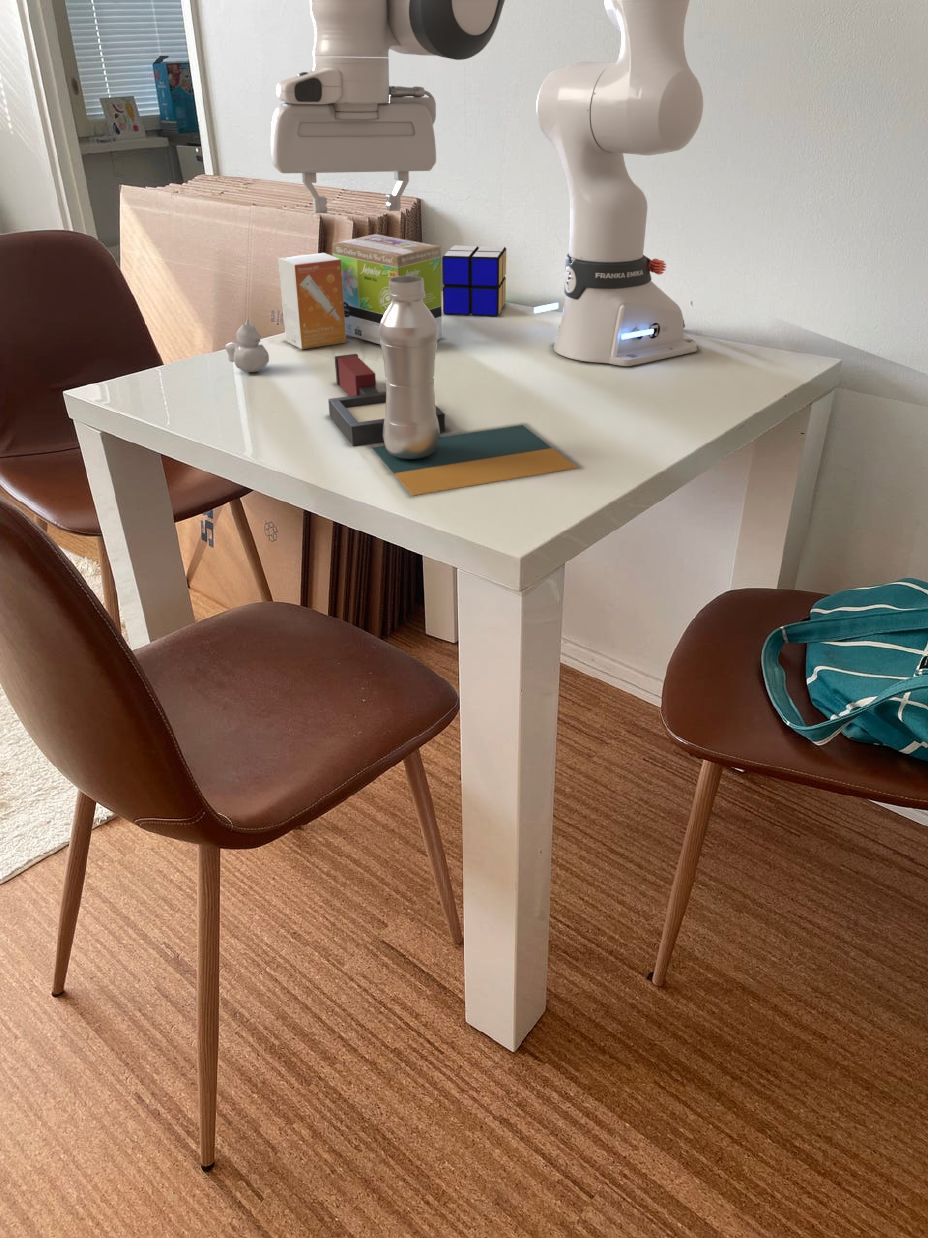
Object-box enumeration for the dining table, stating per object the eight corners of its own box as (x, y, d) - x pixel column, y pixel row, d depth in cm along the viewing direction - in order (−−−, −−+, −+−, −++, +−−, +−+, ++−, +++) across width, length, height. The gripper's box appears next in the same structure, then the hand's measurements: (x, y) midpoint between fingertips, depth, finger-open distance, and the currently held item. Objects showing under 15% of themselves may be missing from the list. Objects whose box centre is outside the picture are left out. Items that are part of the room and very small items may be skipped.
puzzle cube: (442, 314, 166) (441, 255, 161) (452, 301, 174) (451, 244, 169) (498, 316, 164) (499, 257, 159) (505, 303, 173) (506, 246, 167)
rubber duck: (261, 377, 136) (254, 321, 132) (220, 374, 137) (212, 318, 133) (277, 366, 140) (271, 312, 136) (237, 363, 142) (230, 309, 137)
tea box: (336, 335, 155) (329, 241, 147) (380, 323, 161) (375, 232, 153) (401, 352, 146) (397, 253, 138) (444, 338, 153) (443, 243, 145)
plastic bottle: (383, 445, 113) (374, 273, 102) (439, 443, 113) (435, 271, 103) (383, 466, 107) (374, 286, 97) (442, 464, 108) (439, 285, 97)
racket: (306, 387, 132) (303, 359, 130) (387, 377, 136) (385, 350, 133) (352, 445, 113) (350, 413, 111) (445, 431, 117) (444, 400, 115)
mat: (522, 428, 119) (522, 424, 119) (577, 471, 107) (577, 467, 107) (372, 451, 113) (372, 447, 112) (413, 499, 101) (412, 495, 101)
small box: (302, 350, 147) (293, 264, 140) (285, 341, 152) (276, 257, 145) (347, 342, 151) (341, 258, 144) (330, 333, 156) (323, 251, 149)
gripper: (428, 85, 116) (428, 205, 123) (263, 84, 111) (273, 210, 118) (443, 87, 111) (443, 212, 118) (271, 85, 106) (281, 217, 113)
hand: (357, 211), depth 118 cm, fingers open, 8 cm apart
